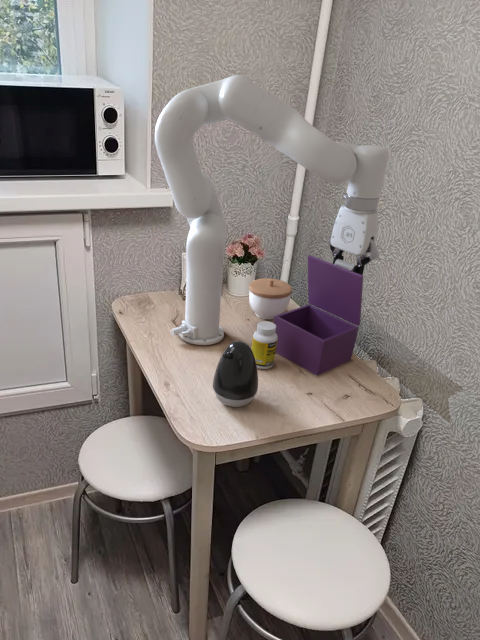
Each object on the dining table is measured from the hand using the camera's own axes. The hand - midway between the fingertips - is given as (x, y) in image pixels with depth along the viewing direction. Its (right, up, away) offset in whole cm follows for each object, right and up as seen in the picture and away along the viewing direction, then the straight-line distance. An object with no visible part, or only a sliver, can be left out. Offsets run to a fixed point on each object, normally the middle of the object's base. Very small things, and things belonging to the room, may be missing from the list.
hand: (346, 275), depth 133 cm
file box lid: (-3, -4, 0) cm, 5 cm away
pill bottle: (-21, -23, +2) cm, 31 cm away
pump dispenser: (-30, -32, -12) cm, 45 cm away
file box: (-8, -20, +7) cm, 22 cm away
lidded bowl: (-16, -7, +26) cm, 32 cm away
